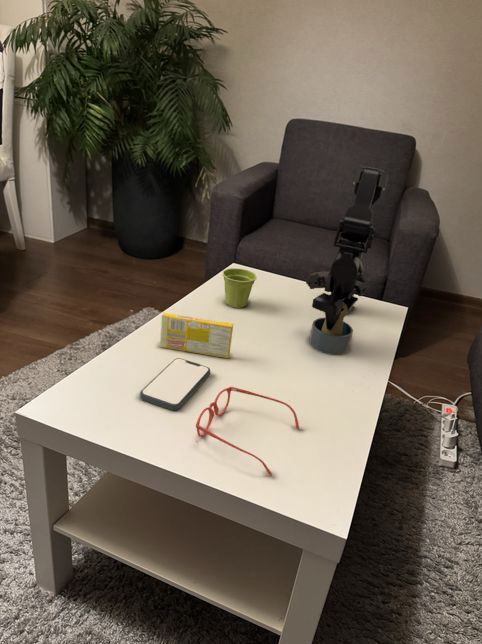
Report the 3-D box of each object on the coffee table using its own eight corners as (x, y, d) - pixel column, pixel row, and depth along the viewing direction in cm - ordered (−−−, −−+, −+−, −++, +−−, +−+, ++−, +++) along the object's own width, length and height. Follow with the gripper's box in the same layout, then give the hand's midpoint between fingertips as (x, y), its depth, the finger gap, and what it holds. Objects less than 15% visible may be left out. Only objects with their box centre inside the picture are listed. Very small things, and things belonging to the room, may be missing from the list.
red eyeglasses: (227, 399, 109) (230, 379, 107) (301, 426, 105) (306, 405, 103) (185, 447, 95) (187, 425, 93) (269, 480, 91) (273, 458, 88)
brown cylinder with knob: (343, 341, 138) (353, 302, 133) (336, 350, 133) (346, 310, 128) (322, 333, 140) (330, 295, 134) (314, 342, 135) (322, 303, 130)
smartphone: (177, 413, 104) (212, 374, 117) (177, 407, 103) (212, 367, 116) (137, 399, 106) (175, 362, 119) (137, 393, 105) (176, 356, 118)
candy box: (230, 354, 125) (234, 323, 121) (228, 359, 123) (232, 327, 119) (161, 343, 125) (163, 311, 121) (159, 347, 124) (161, 315, 120)
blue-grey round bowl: (319, 330, 143) (323, 313, 140) (354, 344, 139) (359, 327, 136) (302, 344, 135) (305, 326, 132) (338, 359, 131) (343, 341, 128)
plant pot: (218, 294, 153) (221, 266, 149) (251, 297, 155) (255, 269, 151) (219, 309, 145) (223, 279, 141) (254, 312, 147) (258, 282, 143)
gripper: (332, 249, 137) (320, 304, 145) (298, 267, 123) (287, 327, 130) (372, 262, 133) (358, 318, 140) (342, 282, 118) (328, 343, 126)
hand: (332, 326), depth 134 cm, fingers closed on brown cylinder with knob, 4 cm apart
